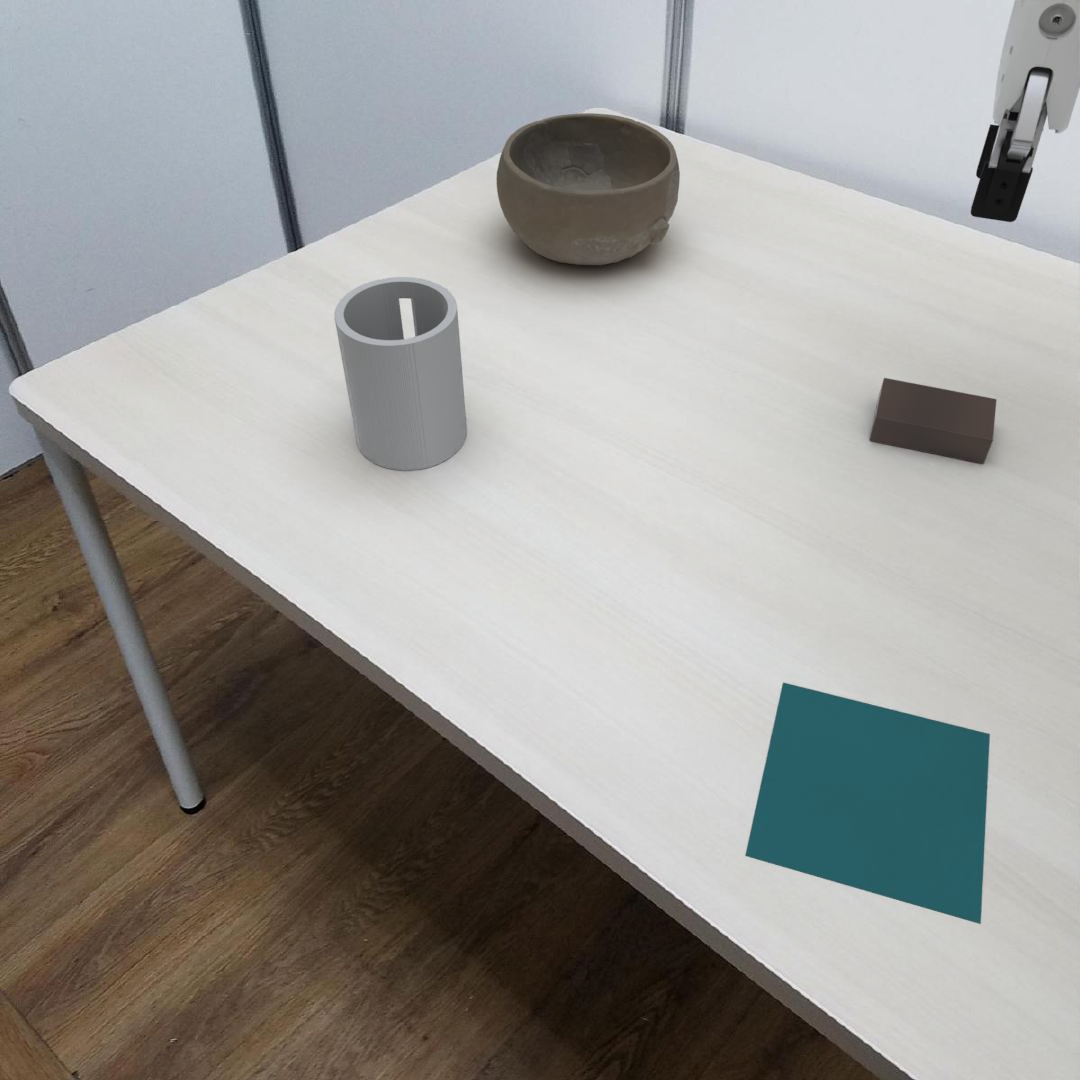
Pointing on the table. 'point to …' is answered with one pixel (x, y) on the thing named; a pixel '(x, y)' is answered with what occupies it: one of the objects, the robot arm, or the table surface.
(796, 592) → the table surface
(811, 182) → the table surface
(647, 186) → the bowl
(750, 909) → the table surface
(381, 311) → the cup
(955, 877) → the mat
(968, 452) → the walnut block
